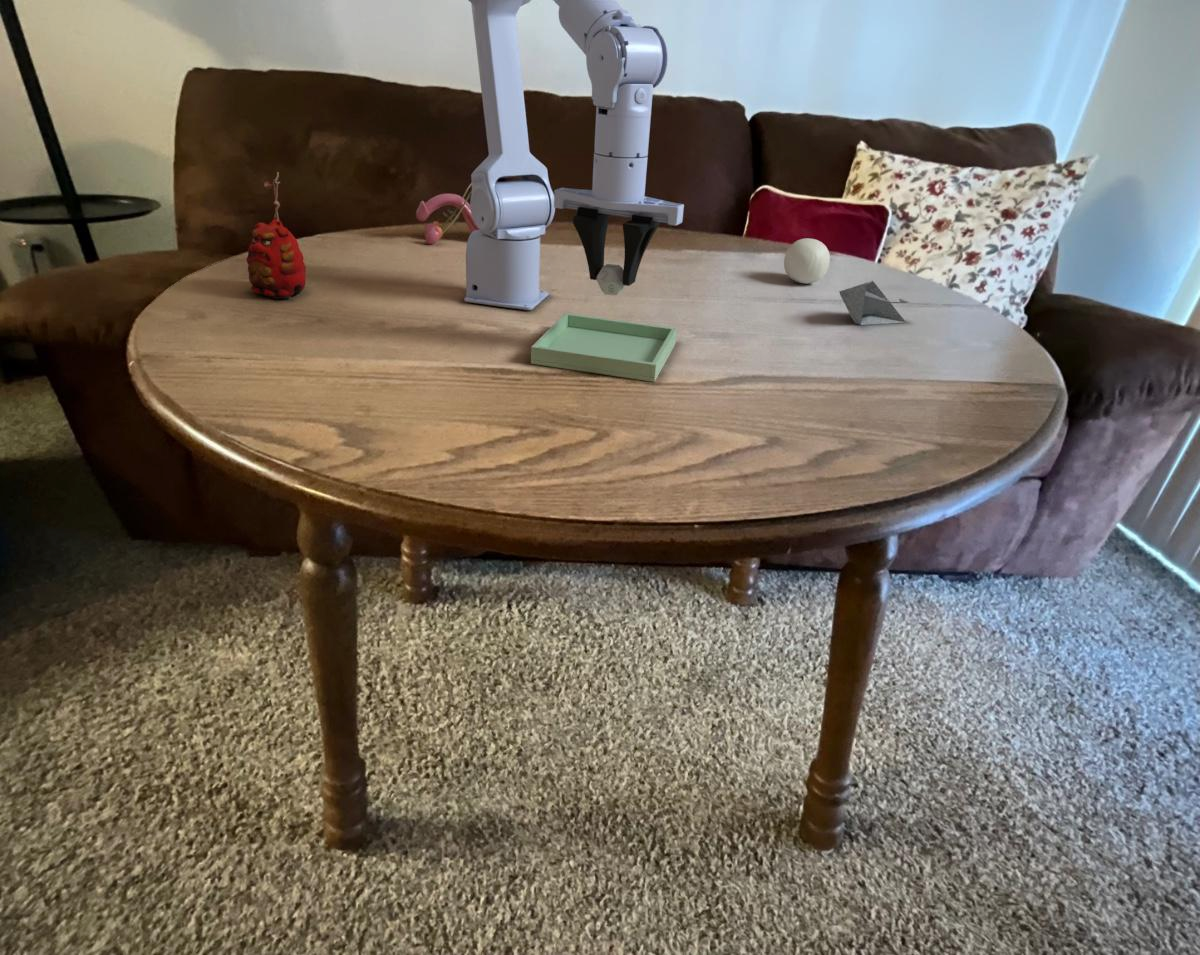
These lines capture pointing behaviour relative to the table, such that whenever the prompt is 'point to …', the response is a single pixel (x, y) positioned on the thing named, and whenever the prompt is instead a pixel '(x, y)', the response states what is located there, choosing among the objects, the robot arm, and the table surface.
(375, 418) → the table surface
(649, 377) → the tray
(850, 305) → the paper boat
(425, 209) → the anatomy model
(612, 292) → the game die
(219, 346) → the table surface
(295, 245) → the red clay folk toy
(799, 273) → the cream white ball
